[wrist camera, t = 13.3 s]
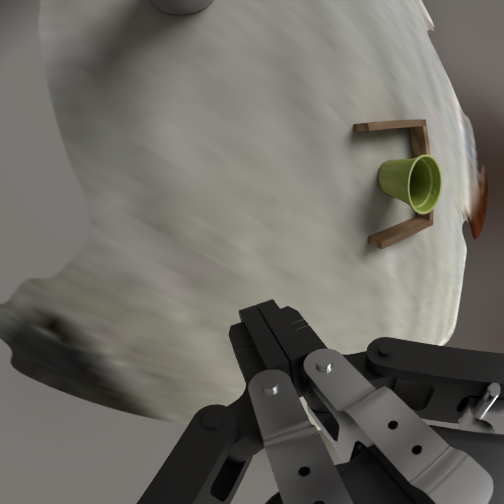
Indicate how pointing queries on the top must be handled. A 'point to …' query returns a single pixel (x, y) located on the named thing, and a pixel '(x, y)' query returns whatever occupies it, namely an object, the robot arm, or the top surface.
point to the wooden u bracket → (419, 148)
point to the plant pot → (413, 182)
